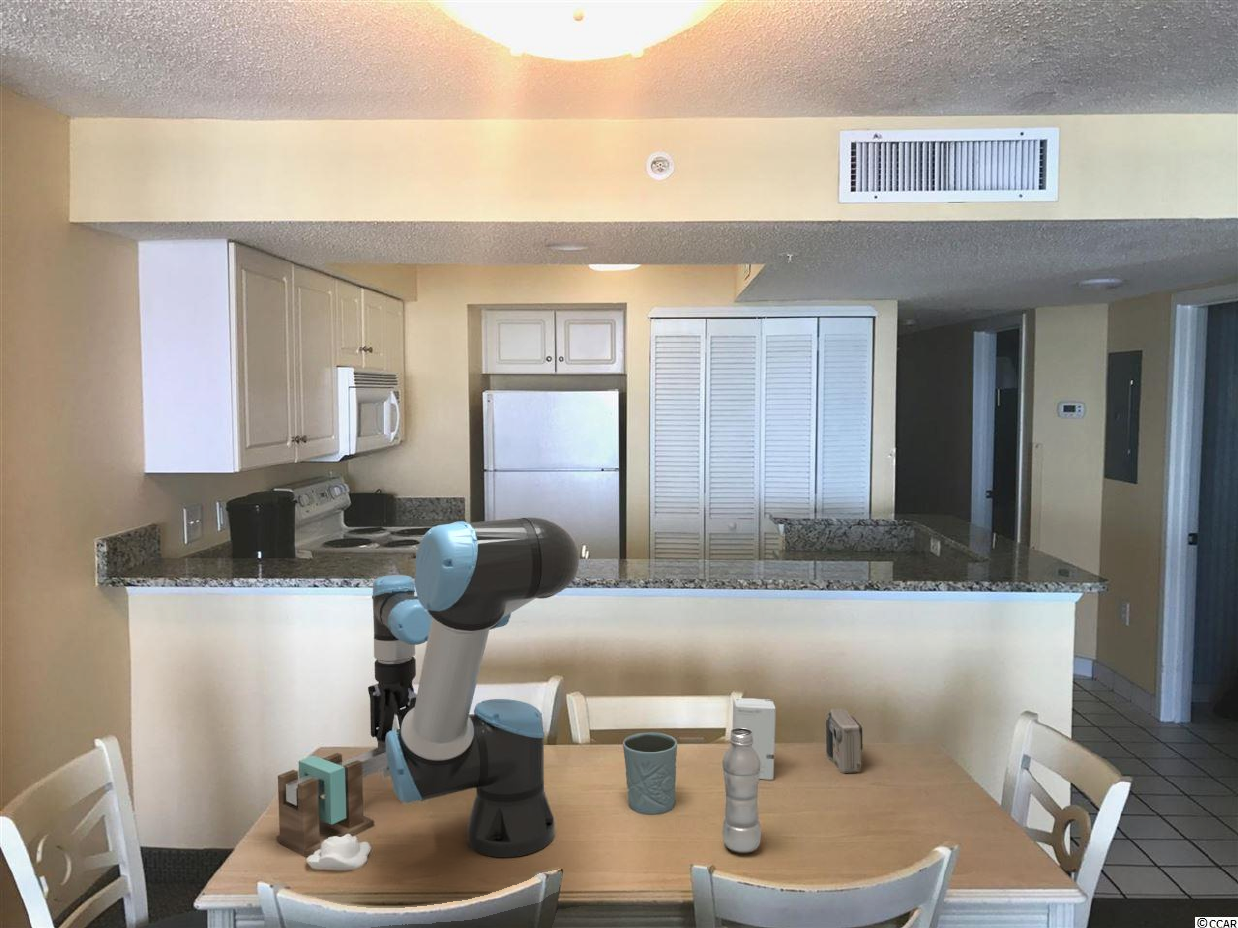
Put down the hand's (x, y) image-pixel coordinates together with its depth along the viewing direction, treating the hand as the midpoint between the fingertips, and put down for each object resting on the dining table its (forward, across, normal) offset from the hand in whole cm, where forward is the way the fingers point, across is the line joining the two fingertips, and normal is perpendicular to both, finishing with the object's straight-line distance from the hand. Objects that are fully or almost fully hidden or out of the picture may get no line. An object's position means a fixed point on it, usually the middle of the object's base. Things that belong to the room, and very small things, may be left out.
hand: (397, 778), depth 165 cm
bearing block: (+4, 0, +17) cm, 17 cm away
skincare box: (+4, -50, -49) cm, 70 cm away
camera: (+4, -63, -65) cm, 90 cm away
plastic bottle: (+4, -62, -21) cm, 66 cm away
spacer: (+1, 0, +16) cm, 17 cm away
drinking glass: (+4, -40, -26) cm, 48 cm away
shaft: (-3, 0, +10) cm, 10 cm away
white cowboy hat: (+5, -9, +20) cm, 23 cm away
